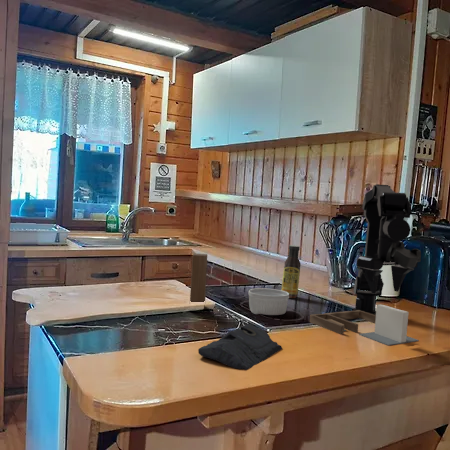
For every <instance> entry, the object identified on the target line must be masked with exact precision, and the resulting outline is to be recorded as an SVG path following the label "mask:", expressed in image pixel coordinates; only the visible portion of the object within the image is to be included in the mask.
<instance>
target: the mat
mask: <svg viewBox="0 0 450 450" xmlns="http://www.w3.org/2000/svg"><path fill="white" fill-rule="evenodd" d="M358 335H359V336H361V337H364V338H367V339H369V340H371V341H374V342H377V343H379V344H382V345H386V346H388V347H389V346H396V345H402V344H409V343H415V342H419V341H420V340H419V339H417V338H413V337H410V336H406V342H398V341H395V340H392V339H390V338H387V337H384V336H381V335H379V334H376V333H375V331H372V332H370V331H369V332H362V333H359V334H358Z"/></svg>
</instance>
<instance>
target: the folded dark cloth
mask: <svg viewBox="0 0 450 450" xmlns="http://www.w3.org/2000/svg"><path fill="white" fill-rule="evenodd" d="M239 328H240V329H238V328H236V329H233V330H230V331H228V332H227V333H226V334H225V335H223V336H222V337H221V338H219V339H218V340H213V341H212V342H210V343H208V344H206V345H204V346H202V347H200V348H199V347H198V350H197V351H198V354H199V355H200V356H201V357H204V358H208V359H210V360H213V361H217V362H219V363H221V364H223V365H225V366H228V367H231V368H233V369H235V370H237V369H238V370H244V371H247V370H250V369H252V368H254V366H257V365H258V364H260V363H262V362H264V361H265V360H267V359H269V358H270V357H272V356H273V355H274V354H277V353H278V352H280V351H282V350H283V347H282V345H280V344H278V342H277V341H273V339H272V338H271V336H270V335H269V333H268V332H267V331H265V330H264V329H261V328H258V327H257V326H254V325H253V324H252V323H246V324H245V325H243V326H240V327H239Z"/></svg>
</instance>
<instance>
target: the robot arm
mask: <svg viewBox="0 0 450 450" xmlns="http://www.w3.org/2000/svg"><path fill="white" fill-rule="evenodd" d="M411 208H412V207H411V202H410V201H409V197H408V196H407V194H406V193H405V192H395V191H394V190H393V189H392V188H391V186H390V185H388V184H377V183H376V184H373V186H372V189H370V190H369V191H367V192H366V193H365V195H364V197H363V201H362V210H363V215H364V218H365V219H366V221H367V226H366V227H367V228H366V237H365V247H364V248H365V251H364V256H363V255H362V256H361V255H360V256H359V257H358V258H357V259H356V267H359V270H358V274H357V276H356V277H355V281H354V284H353V293H354V294H355V295H356V298H355V308H354V307H353V308H352V310H351V311H356V310H361V311H364V312H367V313H370V314H373V315H374V314H376V308H377V297H381V296H382V295H383V293H382V292H383V289H384V285H385V283H384V282H383V278H382V275H381V273H383V272H384V271H383V270H382V268H383V266H390V269H391V277H392V285H393V286H392V287H393V291H394V292H396V293H397V292H399V290H400V288H401V286H402V284H403V281H404V280H405V277H406V276H407V274H409V273H410V272H411V271H414V270H415V268H418V263H421V261H422V251H421V250H420V249H418V248H412V249H406V248H405V243H404V240H406V239H407V238H408V237H409V236H410V234H411V226H410V224H409V223H408V221H406V220H405V219H410V218H411V216H412V209H411Z"/></svg>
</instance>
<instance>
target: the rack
mask: <svg viewBox="0 0 450 450" xmlns="http://www.w3.org/2000/svg"><path fill="white" fill-rule="evenodd" d="M328 319H332V320H334V321H337V322H339V323H342V324H344V326H342V325H340V324H337V323H334V322H332V321H329V320H328ZM354 319H360V320H363V321H366V322H370V323H371V324H372V323H373V324H375V320H376V314H374V313H373V314H370V313H367V312H364V311H361V310H356V311H354V310H347V311H337V312H336V311H335V312H326V313H316V314H315V313H314V314H310V315H309V323H311V324H314V325H315V326H317V327H321V328H322V329H326V330H328V331H330V332H334V333H336V334H339V335H344V332H345V331H344V330H346V331H349V332H353V333H356V334H357V333H358V331H359V324H358V323H355V322H353V321H350V320H354Z"/></svg>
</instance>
